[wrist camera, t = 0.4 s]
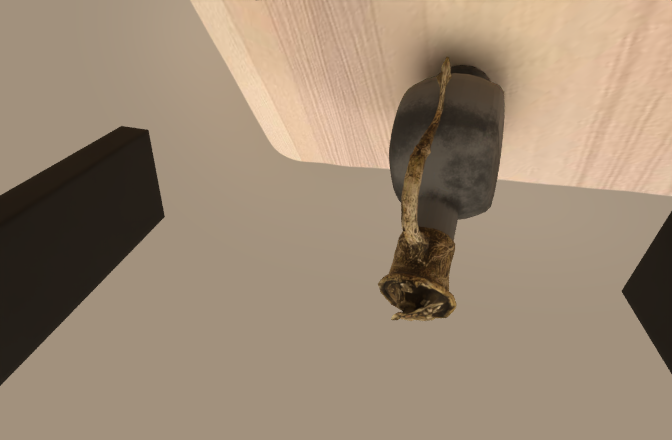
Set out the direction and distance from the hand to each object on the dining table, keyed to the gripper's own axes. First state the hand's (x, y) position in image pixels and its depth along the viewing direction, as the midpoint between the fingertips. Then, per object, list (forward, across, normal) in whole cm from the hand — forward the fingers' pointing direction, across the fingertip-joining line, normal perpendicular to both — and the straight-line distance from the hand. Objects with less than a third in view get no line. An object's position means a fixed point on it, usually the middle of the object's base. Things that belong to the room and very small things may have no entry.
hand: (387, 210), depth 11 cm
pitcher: (+43, +7, -6) cm, 44 cm away
